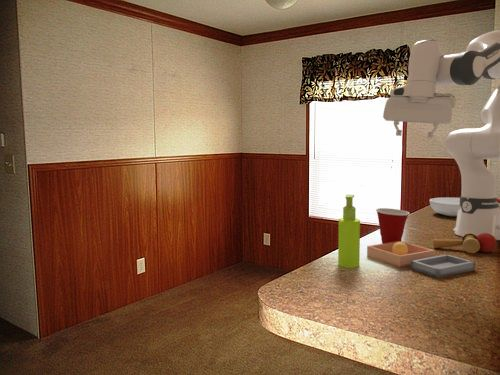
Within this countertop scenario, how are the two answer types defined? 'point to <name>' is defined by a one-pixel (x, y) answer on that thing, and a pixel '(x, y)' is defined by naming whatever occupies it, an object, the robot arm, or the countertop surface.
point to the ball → (400, 248)
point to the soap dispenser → (349, 236)
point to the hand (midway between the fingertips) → (414, 136)
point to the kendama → (470, 242)
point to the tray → (442, 265)
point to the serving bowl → (446, 206)
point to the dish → (386, 255)
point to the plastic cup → (391, 224)
